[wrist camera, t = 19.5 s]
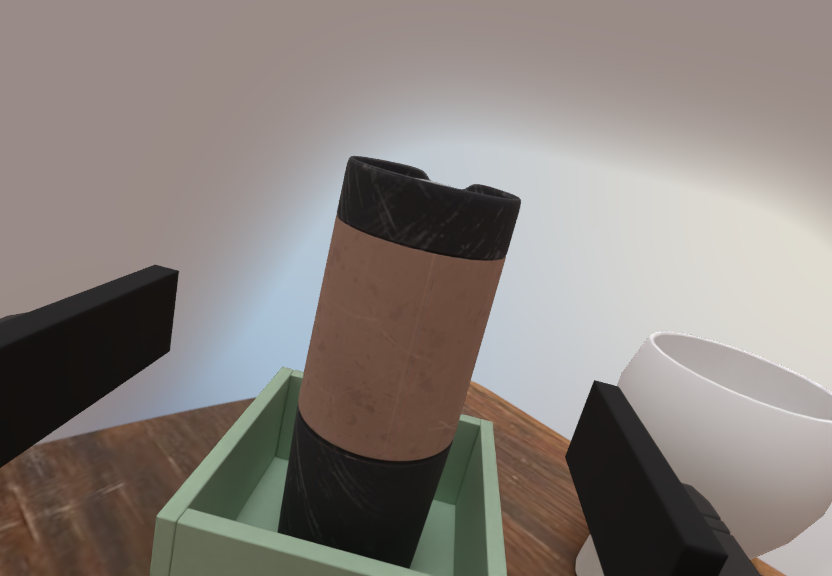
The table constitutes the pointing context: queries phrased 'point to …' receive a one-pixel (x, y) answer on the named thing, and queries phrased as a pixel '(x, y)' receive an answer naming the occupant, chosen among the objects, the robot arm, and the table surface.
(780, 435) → the cup
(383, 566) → the bin
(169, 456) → the table surface
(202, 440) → the table surface
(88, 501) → the table surface
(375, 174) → the travel mug
